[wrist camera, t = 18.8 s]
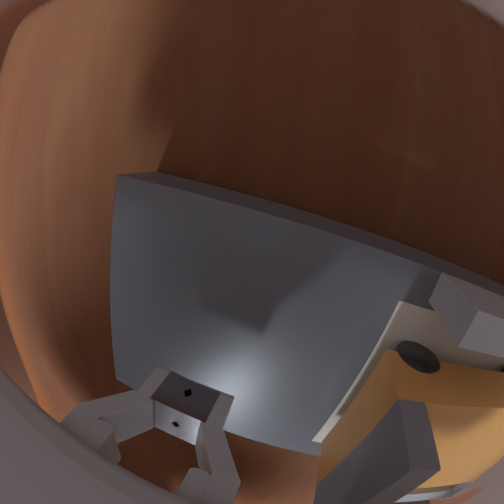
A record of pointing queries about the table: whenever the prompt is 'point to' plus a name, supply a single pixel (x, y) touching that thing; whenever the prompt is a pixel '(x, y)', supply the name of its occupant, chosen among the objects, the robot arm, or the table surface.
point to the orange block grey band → (413, 429)
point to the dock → (280, 306)
